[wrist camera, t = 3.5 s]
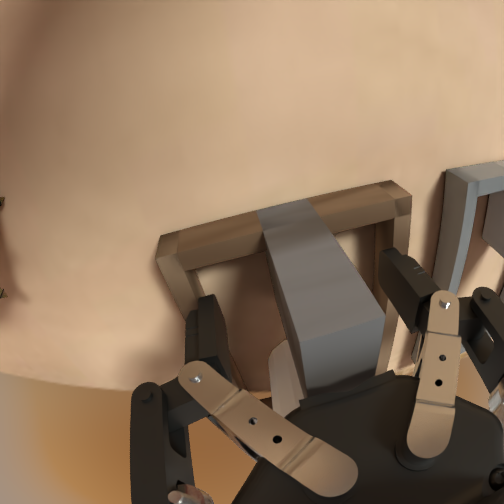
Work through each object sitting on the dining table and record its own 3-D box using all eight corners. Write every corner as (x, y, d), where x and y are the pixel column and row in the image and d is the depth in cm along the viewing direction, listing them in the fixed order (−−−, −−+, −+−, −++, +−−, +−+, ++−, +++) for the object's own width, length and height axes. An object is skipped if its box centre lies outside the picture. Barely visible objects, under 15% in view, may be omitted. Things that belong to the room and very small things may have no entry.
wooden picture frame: (160, 235, 14) (134, 375, 8) (391, 180, 14) (497, 269, 8) (243, 408, 24) (256, 490, 18) (373, 372, 24) (406, 446, 18)
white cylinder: (359, 319, 20) (400, 401, 14) (335, 375, 24) (360, 445, 18) (263, 328, 19) (285, 426, 13) (256, 385, 23) (270, 463, 17)
